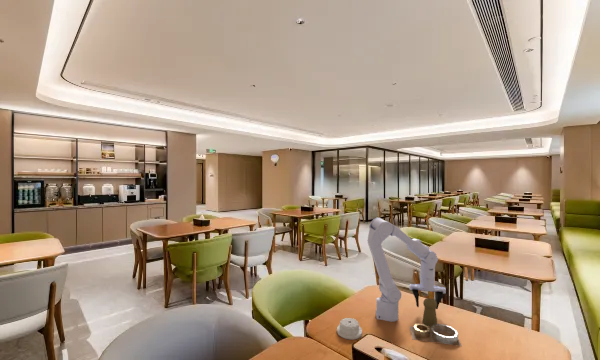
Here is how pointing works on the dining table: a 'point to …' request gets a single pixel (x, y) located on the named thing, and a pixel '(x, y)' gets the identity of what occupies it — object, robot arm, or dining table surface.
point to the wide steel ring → (444, 339)
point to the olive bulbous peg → (429, 312)
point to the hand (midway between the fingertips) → (426, 307)
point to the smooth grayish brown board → (431, 337)
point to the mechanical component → (349, 329)
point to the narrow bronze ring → (421, 330)
